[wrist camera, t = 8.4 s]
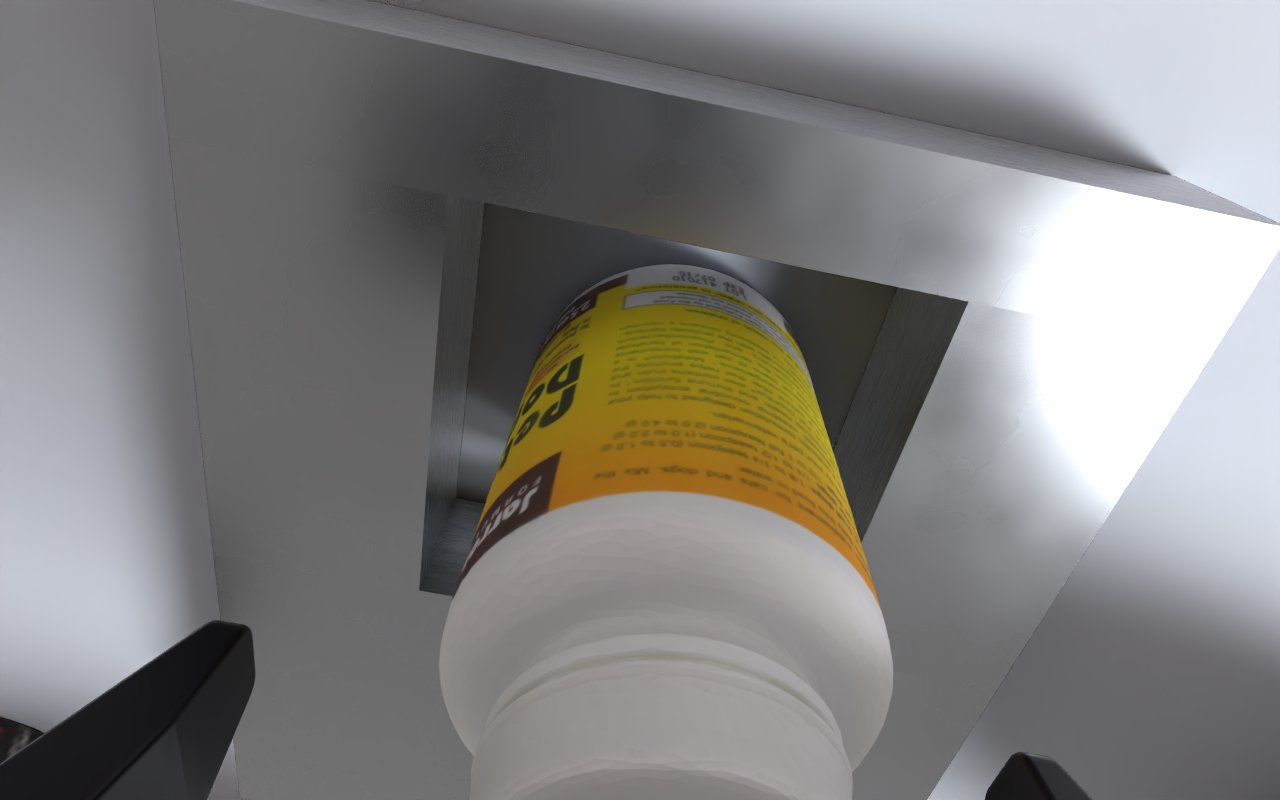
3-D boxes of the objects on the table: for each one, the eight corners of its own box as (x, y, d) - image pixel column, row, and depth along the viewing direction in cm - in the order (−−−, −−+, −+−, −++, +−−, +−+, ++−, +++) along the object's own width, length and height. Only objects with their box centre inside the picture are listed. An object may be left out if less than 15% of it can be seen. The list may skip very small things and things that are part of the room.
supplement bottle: (574, 215, 15) (416, 630, 6) (849, 302, 15) (1090, 795, 6) (510, 450, 17) (336, 976, 8) (745, 515, 18) (812, 1067, 9)
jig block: (844, 785, 23) (866, 893, 20) (291, 696, 22) (239, 798, 19) (1175, 176, 14) (1291, 229, 11) (258, -25, 13) (152, -18, 10)
